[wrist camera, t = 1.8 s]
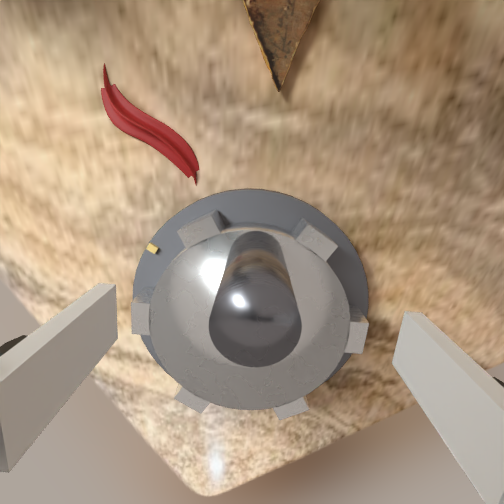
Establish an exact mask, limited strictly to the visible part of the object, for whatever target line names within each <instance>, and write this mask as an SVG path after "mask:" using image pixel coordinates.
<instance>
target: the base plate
mask: <svg viewBox="0 0 504 504" xmlns="http://www.w3.org/2000/svg"><path fill="white" fill-rule="evenodd" d="M216 209H217V211H218V213H219V215H220V217H221V219H222V221H223V223H224V225H229V224H234V223H244V222H254V223H264V224H270V225H274V226H278V227H281V228H284V229H286V230H289V231H292V229H293V228H294V227H295V225H296V224H297V223H298V222H299V220H300V219H301V218H302V217H303V218H304V219H306V220H307V221H309V222H310V223H311V224H313V225H314V226H315V227H317V228H318V229H320V230H321V231H322V232H324V233H325V234H327V235H328V236H329V237H330V238H331V239H332V240H333V241H334V242H335V243H336V244H337V245H338V247H337V248H336V250H335V251H334V252H333V253H332V254H331V256H330V257H329V258H328V259H327V263H328V264H329V266H330V267H331V268H332V270H333V271H334V273H335V274H336V276H337V277H338V279H339V281H340V283H341V285H342V287H343V289H344V291H345V294H346V297H347V300H348V304H349V305H352V306H358V308H359V309H360V311H361V312H362V314H363V315H364V317H365V318H366V319H367V312H368V286H367V279H366V275H365V272H364V269H363V265H362V263H361V261H360V258H359V256H358V254H357V252H356V250H355V248H354V247H353V245H352V244H351V242H350V241H349V239H348V238H347V237H346V235H345V234H344V233H343V232H342V231H341V230H340V229H339V228H338V226H337V225H336V224H334V223H333V222H332V221H331V220H330V219H328V218H327V217H326V216H325V215H324V214H323V213H321V212H320V211H319V210H317V209H316V208H314V207H312V206H311V205H309V204H308V203H306V202H304V201H302V200H299V199H297V198H295V197H293V196H290V195H287V194H283V193H280V192H276V191H270V190H264V189H237V190H229V191H225V192H221V193H217V194H213V195H211V196H208V197H205V198H203V199H200V200H198V201H197V202H195V203H193V204H191V205H190V206H188V207H186V208H185V209H183V210H182V211H180V212H179V213H178V214H176V215H175V216H174V217H172V218H171V219H170V220H168V221H167V222H166V223H165V224H164V225H163V226H162V227H161V228H160V229H159V230H158V231H157V233H156V234H155V235H154V237H153V238H152V240H151V241H150V242H149V244H148V245H147V247H146V249H145V251H144V253H143V255H142V257H141V259H140V262H139V265H138V267H137V270H136V274H135V279H134V285H133V300H134V298H135V297H136V296H137V295H138V294H139V293H140V292H141V291H142V289H143V288H144V287H150V288H155V287H156V284H157V283H158V281H159V279H160V277H161V275H162V274H163V272H164V271H165V270H166V269H167V267H168V266H169V265H170V263H171V262H172V261H173V260H174V259H175V257H176V256H177V255H178V254H179V253H180V252H181V251H182V250H183V249H184V248H185V245H184V244H183V242H182V240H181V238H180V236H179V234H178V233H177V231H178V230H179V229H180V228H181V227H183V226H184V225H185V224H186V223H188V222H190V221H192V220H194V219H196V218H198V217H201V216H203V215H205V214H207V213H209V212H211V211H213V210H216ZM141 338H142V340H143V342H144V344H145V345H146V347H147V349H148V351H149V352H150V354H151V355H152V356H153V358H154V359H155V361H156V362H157V363H158V364H159V365H160V366H161V367H162V368H163V369H164V371H165V372H166V373H168V372H167V370H166V369H165V367H164V366H163V365H162V363H161V361H160V360H159V358H158V356H157V354H156V352H155V349H154V346H153V344H152V340H151V336H150V335H141ZM351 354H352V353H346V352H344V354H343V356H342V358H341V360H340V362H339V363H338V365H337V366H336V368H335V370H334V371H333V372H332V373H331V374H330V376H329V377H328V378H327V379H326V380H325V381H327V380H328V379H330V378H331V377H332V376H333V375H334V374H335V373H336V372H337V371H338V370H339V369H340V368H341V367H342V366H343V365H344V364H345V362H346V361H347V360H348V359H349V358H350V356H351ZM168 374H169V373H168ZM169 375H170V374H169ZM170 376H171V375H170ZM171 377H172V376H171ZM172 378H173V377H172ZM325 381H324V382H325ZM324 382H323V383H324ZM323 383H322V384H323Z"/></svg>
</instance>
